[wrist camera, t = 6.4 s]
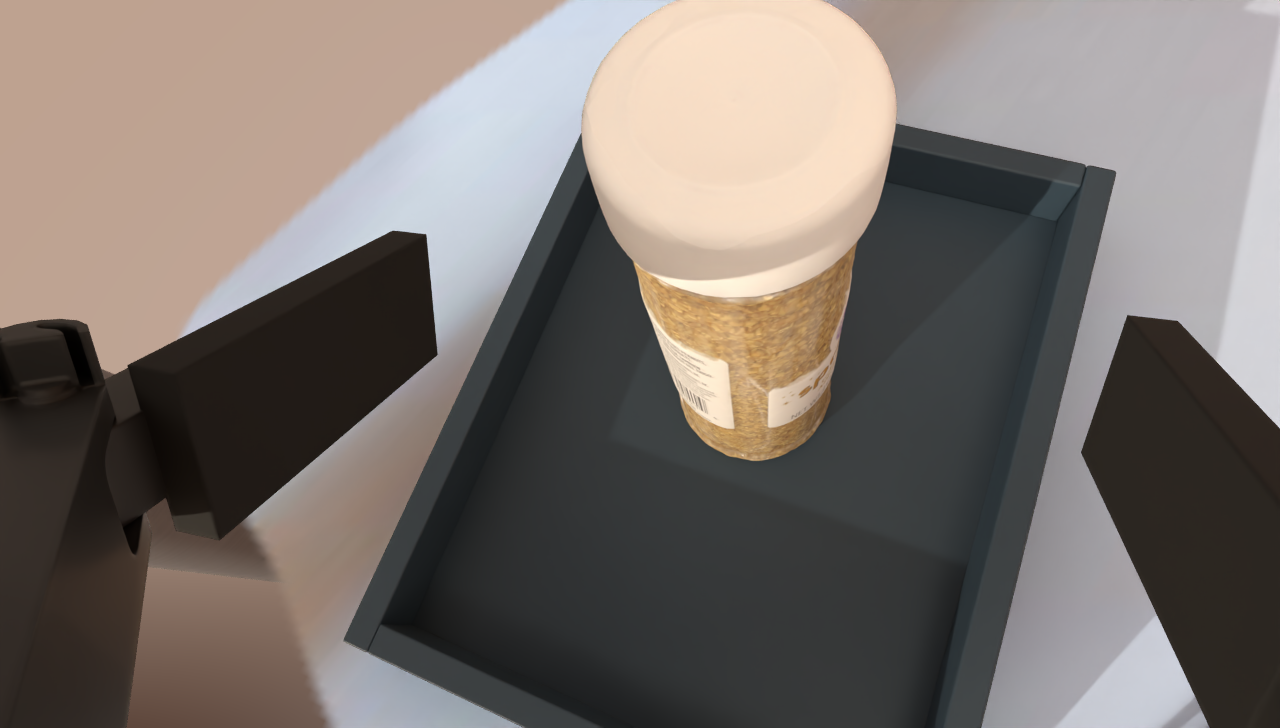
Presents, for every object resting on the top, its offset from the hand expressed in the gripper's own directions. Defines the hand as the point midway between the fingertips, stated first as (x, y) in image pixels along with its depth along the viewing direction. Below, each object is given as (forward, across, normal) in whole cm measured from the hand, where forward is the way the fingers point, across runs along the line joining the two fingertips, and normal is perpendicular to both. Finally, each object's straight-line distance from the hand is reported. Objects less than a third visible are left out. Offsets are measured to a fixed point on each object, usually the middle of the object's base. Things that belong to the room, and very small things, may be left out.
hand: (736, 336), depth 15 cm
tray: (+7, 0, -6) cm, 9 cm away
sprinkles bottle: (+7, 0, -5) cm, 9 cm away
